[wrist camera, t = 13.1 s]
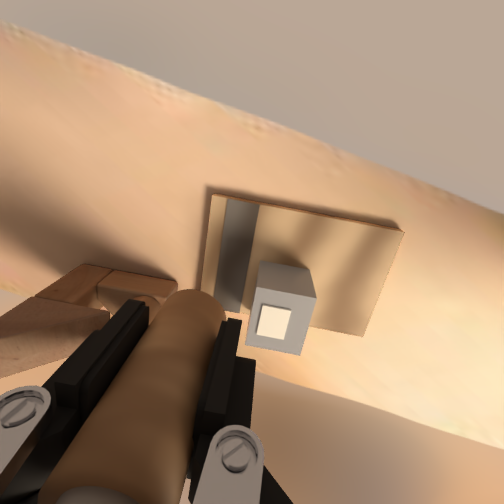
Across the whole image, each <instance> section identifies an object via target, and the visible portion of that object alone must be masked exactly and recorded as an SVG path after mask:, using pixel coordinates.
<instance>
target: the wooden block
mask: <svg viewBox="0 0 504 504" xmlns="http://www.w3.org/2000/svg"><path fill="white" fill-rule="evenodd" d="M177 287H178V283H177V282H176V281H171V280H166V279H160V278H155V277H150V276H145V275H139V274H134V273H129V272H123V271H118V270H114V271H113V270H112V269H109V268H103V267H98V266H93V265H88V264H82V265H80V266H79V267H77V268H76V269H74V270H72V271H71V272H69V273H68V274H66V275H65V276H63V277H62V278H60V279H59V280H57V281H56V282H54V283H53V284H51V285H50V286H48V287H47V288H45V289H44V290H42V291H40V292H39V293H37V294H36V295H35V296H34V297H30V298H28V299H27V300H25V301H24V302H23V303H21V304H19V305H18V306H16V307H15V308H13V309H12V310H10V311H8V312H7V313H5V314H4V315H2V316H1V317H0V378H3V377H6V376H10V375H12V374H16V373H19V372H22V371H25V370H29V369H32V368H35V367H38V366H41V365H45V364H48V363H51V362H54V361H57V360H60V359H64V358H67V357H70V355H71V354H72V353H73V352H74V351H75V350H76V349H77V348H78V347H79V346H80V345H81V344H82V343H83V341H84V340H85V339H86V338H87V337H88V336H89V335H90V334H91V333H92V332H93V331H94V330H97V329H98V330H101V329H102V328H103V327H104V325H105V324H106V323H107V322H108V321H109V320H110V313H111V314H112V315H114V314H115V313H116V312H117V311H118V310H119V309H120V308H121V307H122V305H123V304H124V303H125V302H126V301H127V300H128V299H134V300H139V301H144V302H145V306H149V325H150V323H151V322H152V320H153V319H154V317H155V316H156V314H157V313H158V311H159V310H160V308H161V307H162V305H163V304H164V302H165V301H166V300H167V298H168V297H169V296H171V295H172V294H174V293H175V292H177ZM103 306H104V307H105V308H106V309H107V310H108V311H105V310H100V309H101V308H102V307H103Z"/></svg>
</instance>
